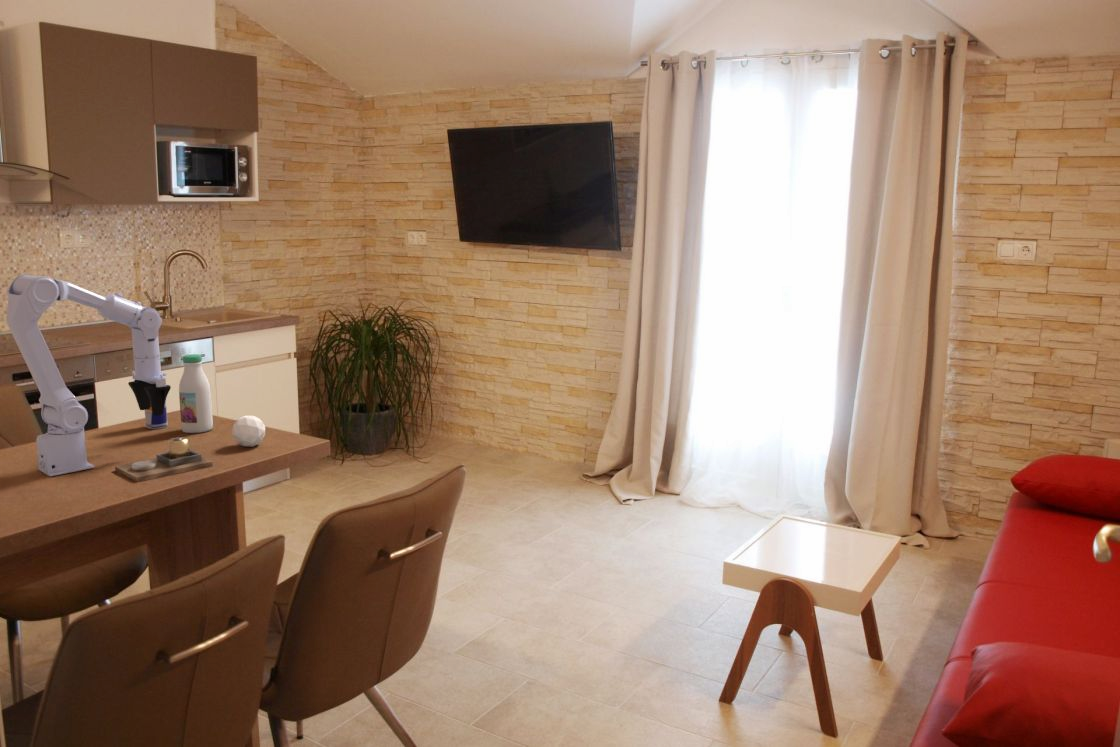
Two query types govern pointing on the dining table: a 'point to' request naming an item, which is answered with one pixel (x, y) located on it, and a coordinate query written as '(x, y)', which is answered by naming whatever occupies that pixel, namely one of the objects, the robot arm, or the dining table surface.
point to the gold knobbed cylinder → (178, 448)
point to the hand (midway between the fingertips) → (151, 412)
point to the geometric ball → (248, 431)
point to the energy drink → (156, 419)
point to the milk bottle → (195, 397)
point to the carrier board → (162, 466)
